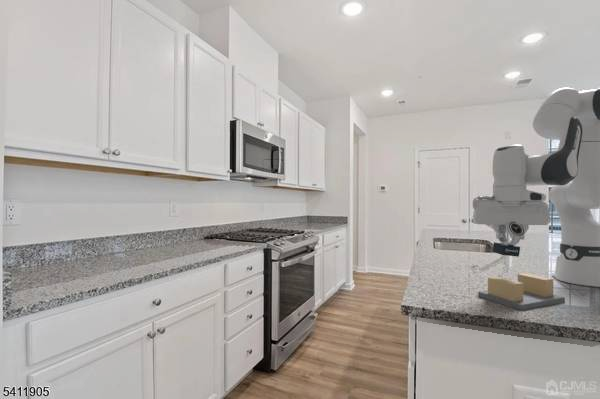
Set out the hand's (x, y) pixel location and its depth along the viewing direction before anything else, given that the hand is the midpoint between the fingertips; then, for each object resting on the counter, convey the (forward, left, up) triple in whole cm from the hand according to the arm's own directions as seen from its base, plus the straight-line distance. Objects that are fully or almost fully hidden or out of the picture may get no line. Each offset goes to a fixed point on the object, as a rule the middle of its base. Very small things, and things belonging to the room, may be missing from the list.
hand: (510, 239), depth 95 cm
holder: (-1, +3, -19) cm, 19 cm away
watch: (+1, -1, -5) cm, 5 cm away
